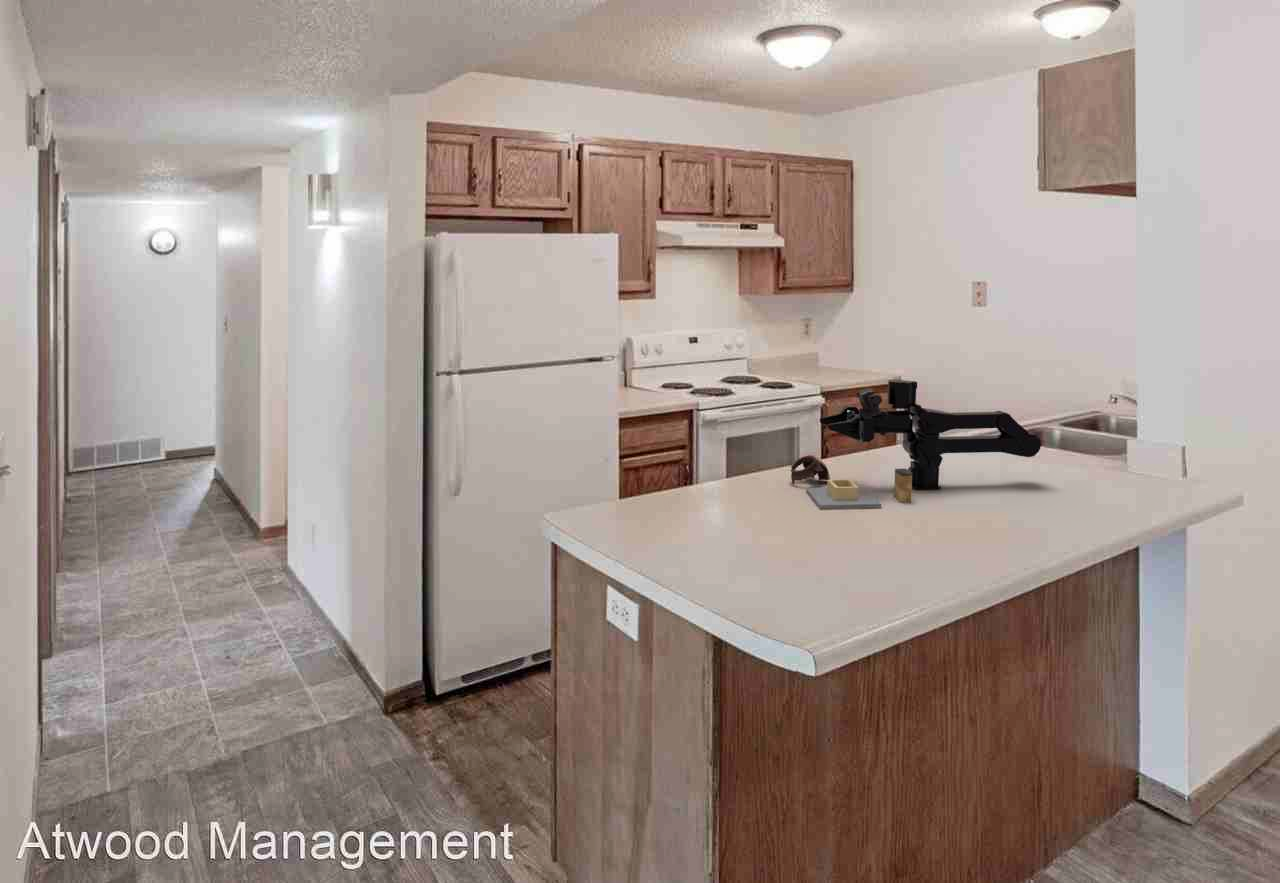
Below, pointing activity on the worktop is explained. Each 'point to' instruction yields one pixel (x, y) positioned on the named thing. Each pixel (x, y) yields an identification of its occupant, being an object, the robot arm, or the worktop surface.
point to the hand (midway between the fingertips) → (823, 423)
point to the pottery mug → (809, 469)
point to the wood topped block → (903, 485)
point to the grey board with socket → (842, 496)
